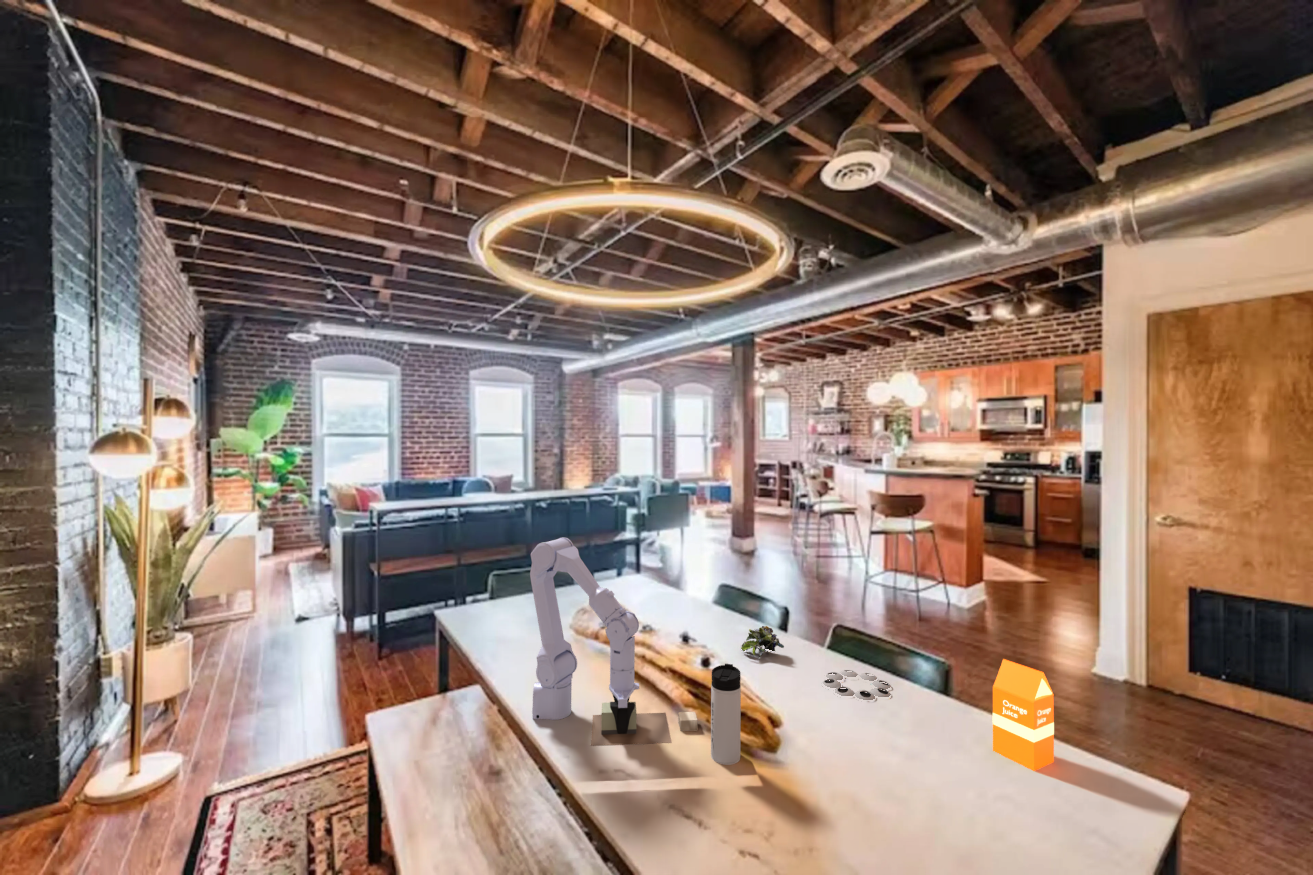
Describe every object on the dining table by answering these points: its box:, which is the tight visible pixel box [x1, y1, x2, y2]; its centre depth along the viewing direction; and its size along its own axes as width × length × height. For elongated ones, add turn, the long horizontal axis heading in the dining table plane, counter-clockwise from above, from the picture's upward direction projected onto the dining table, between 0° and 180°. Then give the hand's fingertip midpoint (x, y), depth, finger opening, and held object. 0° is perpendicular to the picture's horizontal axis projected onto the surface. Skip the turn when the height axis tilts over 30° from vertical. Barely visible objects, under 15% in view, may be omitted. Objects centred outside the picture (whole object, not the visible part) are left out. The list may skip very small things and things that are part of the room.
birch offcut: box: [677, 711, 698, 732], centre depth 132 cm, size 4×4×4 cm
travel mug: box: [710, 663, 742, 766], centre depth 119 cm, size 6×7×20 cm
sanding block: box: [601, 701, 637, 735], centre depth 130 cm, size 8×5×5 cm, turn 95°
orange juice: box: [992, 658, 1055, 772], centre depth 123 cm, size 8×9×20 cm
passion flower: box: [740, 625, 785, 657], centre depth 180 cm, size 11×11×12 cm
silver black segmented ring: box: [822, 669, 892, 700], centre depth 158 cm, size 20×20×2 cm
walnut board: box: [590, 712, 672, 747], centre depth 131 cm, size 18×14×2 cm
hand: (621, 724), depth 130 cm, fingers open, 7 cm apart
